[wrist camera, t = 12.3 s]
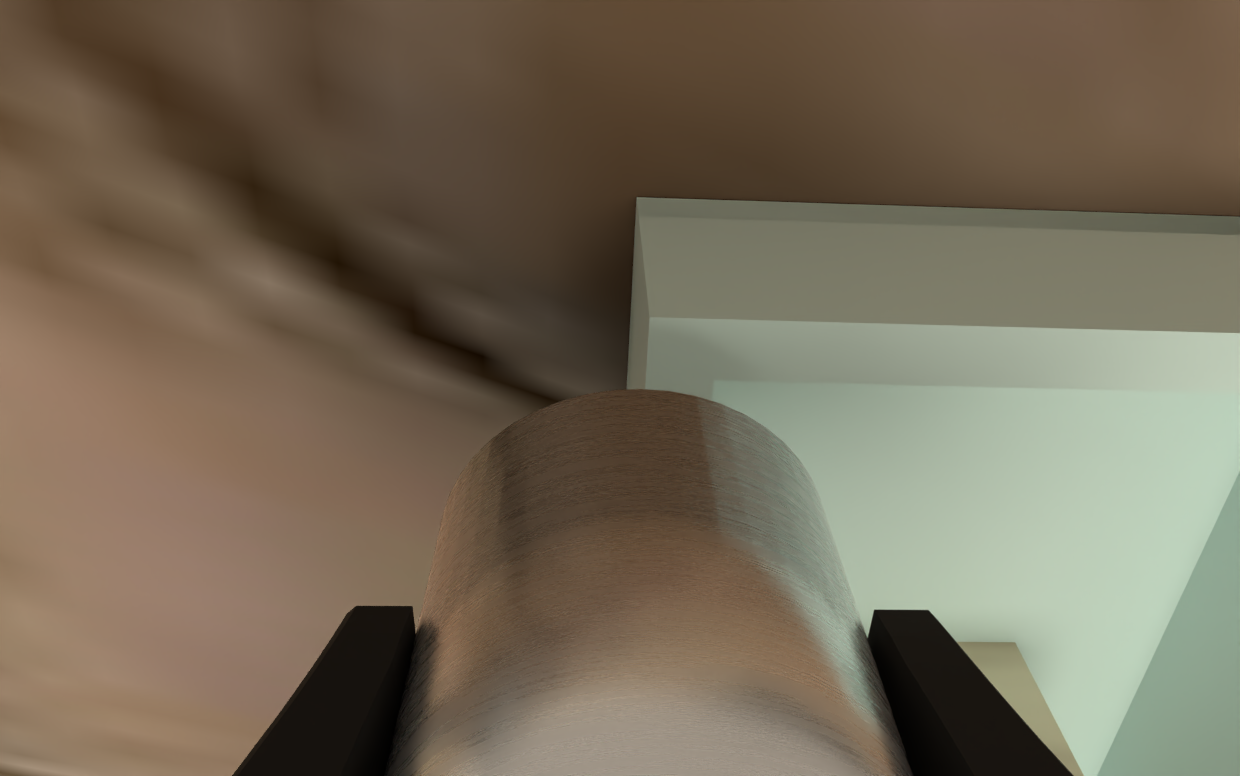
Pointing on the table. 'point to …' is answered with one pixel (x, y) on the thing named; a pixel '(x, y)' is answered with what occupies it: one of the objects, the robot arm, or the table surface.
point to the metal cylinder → (640, 608)
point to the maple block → (1021, 693)
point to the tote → (995, 431)
